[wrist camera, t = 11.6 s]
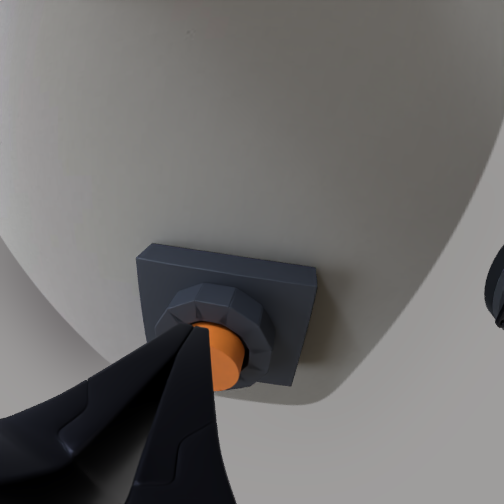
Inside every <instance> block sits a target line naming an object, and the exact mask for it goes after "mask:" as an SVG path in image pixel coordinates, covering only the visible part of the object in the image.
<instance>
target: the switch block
mask: <svg viewBox="0 0 504 504" xmlns="http://www.w3.org/2000/svg"><path fill="white" fill-rule="evenodd" d="M136 265H137V275H138V284H139V292H140V300H141V308H142V315H143V322H144V328H145V334H146V340H147V343H148V342H149V341H151V340H153V339H154V338H156V337H157V336H159V335H161V334H162V333H164V332H165V331H167V330H169V329H170V328H172V327H173V326H175V325H177V324H178V323H186V324H190V325H192V324H195V323H199V322H212V323H216V324H220V325H222V326H225V327H227V328H228V329H230V330H231V331H233V332H234V333H235V334H236V335H237V336H238V337H239V338H240V340H241V341H242V343H243V345H244V349H245V355H244V359H243V363H242V367H241V372H240V376H239V379H238V381H237V383H236V384H235V385H234V386H232V387H231V388H229V389H226V390H231V389H237V388H243V387H249V386H251V385H253V384H254V383H255V382H262V383H269V384H276V385H283V386H291V385H292V382H293V378H294V375H295V372H296V368H297V365H298V361H299V358H300V354H301V350H302V347H303V343H304V339H305V336H306V332H307V328H308V324H309V320H310V316H311V312H312V308H313V304H314V300H315V296H316V292H317V287H318V286H317V276H316V268H315V267H309V266H302V265H295V264H288V263H281V262H275V261H268V260H261V259H254V258H247V257H240V256H234V255H227V254H220V253H213V252H207V251H200V250H193V249H187V248H180V247H173V246H167V245H160V244H154V243H152V244H151V245H150V246H148V247H147V248H146V249H145V250H144V251H143V252H142V253H141V254H140V255H138V256H137V257H136Z"/></svg>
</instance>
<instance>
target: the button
mask: <svg viewBox="0 0 504 504" xmlns="http://www.w3.org/2000/svg"><path fill="white" fill-rule="evenodd" d="M192 325H193V326H194V327H195V326H200V327H204V328H208V329H209V338H210V353H211V366H212V379H213V390H214V391H222V390H226V389H229V388H231V387H232V386H234V385H235V384H236V383H237V381H238V379H239V376H240V372H241V367H242V363H243V359H244V355H245V349H244V345H243V343H242V341H241V340H240V338H239V337H238V336H237V335H236V334H235V333H234V332H233V331H231V330H230V329H228V328H227V327H225V326H222V325H220V324H216V323H212V322H199V323H195V324H192Z"/></svg>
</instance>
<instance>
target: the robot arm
mask: <svg viewBox="0 0 504 504" xmlns="http://www.w3.org/2000/svg"><path fill="white" fill-rule="evenodd" d="M495 323H496V325H497V326H498V327H499V328H504V304H503V306H502V308H501V310H500V312H499V314H498V316H497V318H496V320H495ZM0 504H236V501H235V498H234V495H233V492H232V489H231V486H230V483H229V480H228V477H227V474H226V470H225V466H224V463H223V459H222V455H221V450H220V444H219V438H218V430H217V423H216V412H215V401H214V390H213V379H212V366H211V353H210V338H209V329H208V328H204V327H200V326H195V327H194V326H193V325H190V324H186V323H178V324H177V325H175V326H173V327H172V328H170V329H169V330H167V331H165V332H164V333H162V334H161V335H159V336H157V337H156V338H154V339H153V340H151V341H149V342H148V343H146V344H144V345H143V346H141V347H140V348H138V349H136V350H135V351H133V352H131V353H130V354H128V355H126V356H125V357H123V358H121V359H120V360H118V361H117V362H115V363H113V364H112V365H110V366H108V367H107V368H105V369H103V370H102V371H100V372H98V373H97V374H95V375H93V376H92V377H90V378H88V381H87V380H85V381H83V382H81V383H80V384H78V385H76V386H75V387H73V388H71V389H69V390H67V391H66V392H64V393H62V394H60V395H58V396H56V397H53V398H51V399H49V400H47V401H45V402H43V403H40V404H38V405H36V406H33V407H31V408H29V409H26V410H24V411H21V412H19V413H17V414H14V415H12V416H9V417H6V418H2V419H0Z"/></svg>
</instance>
